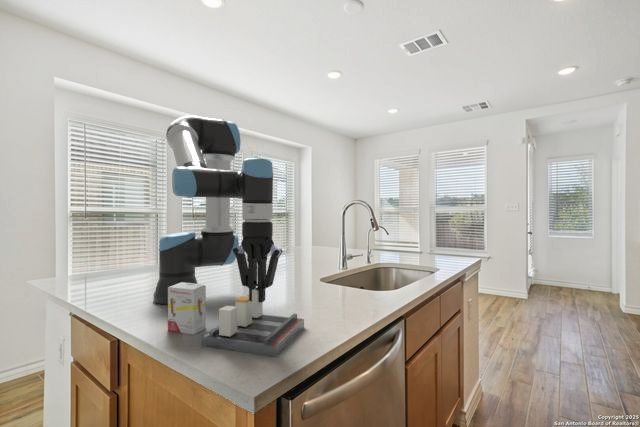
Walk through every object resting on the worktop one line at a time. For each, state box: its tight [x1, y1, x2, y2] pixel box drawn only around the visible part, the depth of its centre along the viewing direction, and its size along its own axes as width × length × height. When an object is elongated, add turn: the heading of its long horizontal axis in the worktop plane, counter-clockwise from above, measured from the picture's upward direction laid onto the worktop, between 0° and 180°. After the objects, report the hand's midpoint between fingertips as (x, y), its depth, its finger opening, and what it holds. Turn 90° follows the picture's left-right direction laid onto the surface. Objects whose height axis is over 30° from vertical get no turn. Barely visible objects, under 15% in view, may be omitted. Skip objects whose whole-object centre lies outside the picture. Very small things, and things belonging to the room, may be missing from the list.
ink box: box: [167, 282, 207, 335], centre depth 84 cm, size 9×5×12 cm, turn 72°
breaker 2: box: [235, 295, 252, 327], centre depth 81 cm, size 3×3×7 cm
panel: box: [201, 313, 305, 358], centre depth 80 cm, size 19×18×4 cm
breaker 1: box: [218, 305, 237, 337], centre depth 75 cm, size 3×3×6 cm
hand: (257, 314), depth 80 cm, fingers closed
